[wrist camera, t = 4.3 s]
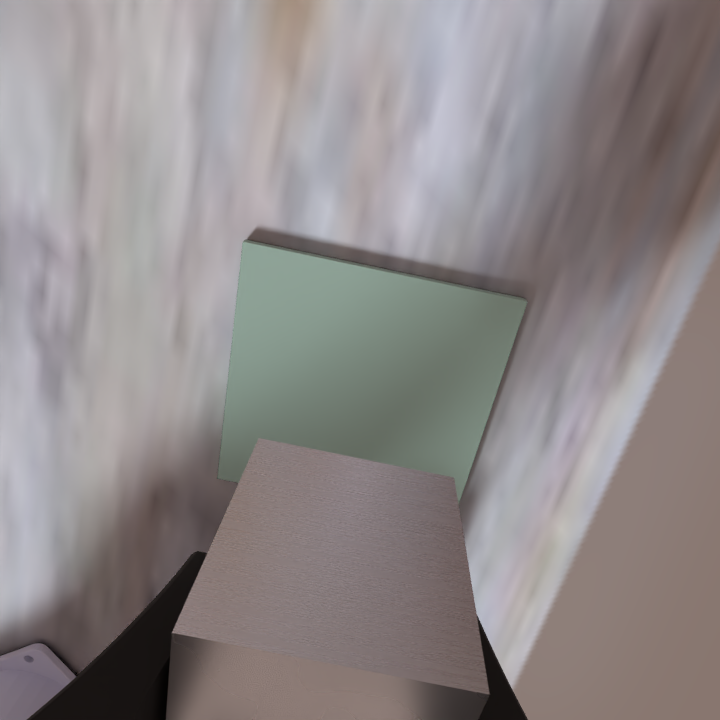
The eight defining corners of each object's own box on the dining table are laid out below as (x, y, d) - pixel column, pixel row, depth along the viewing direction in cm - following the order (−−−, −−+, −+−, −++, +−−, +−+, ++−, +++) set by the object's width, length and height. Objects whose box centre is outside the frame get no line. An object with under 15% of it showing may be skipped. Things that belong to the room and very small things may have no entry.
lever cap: (395, 653, 14) (394, 960, 9) (233, 622, 14) (137, 913, 9) (454, 477, 12) (499, 757, 7) (259, 437, 12) (146, 689, 7)
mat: (450, 519, 22) (451, 525, 22) (220, 472, 22) (217, 478, 22) (524, 298, 19) (527, 301, 18) (246, 239, 18) (242, 241, 18)
